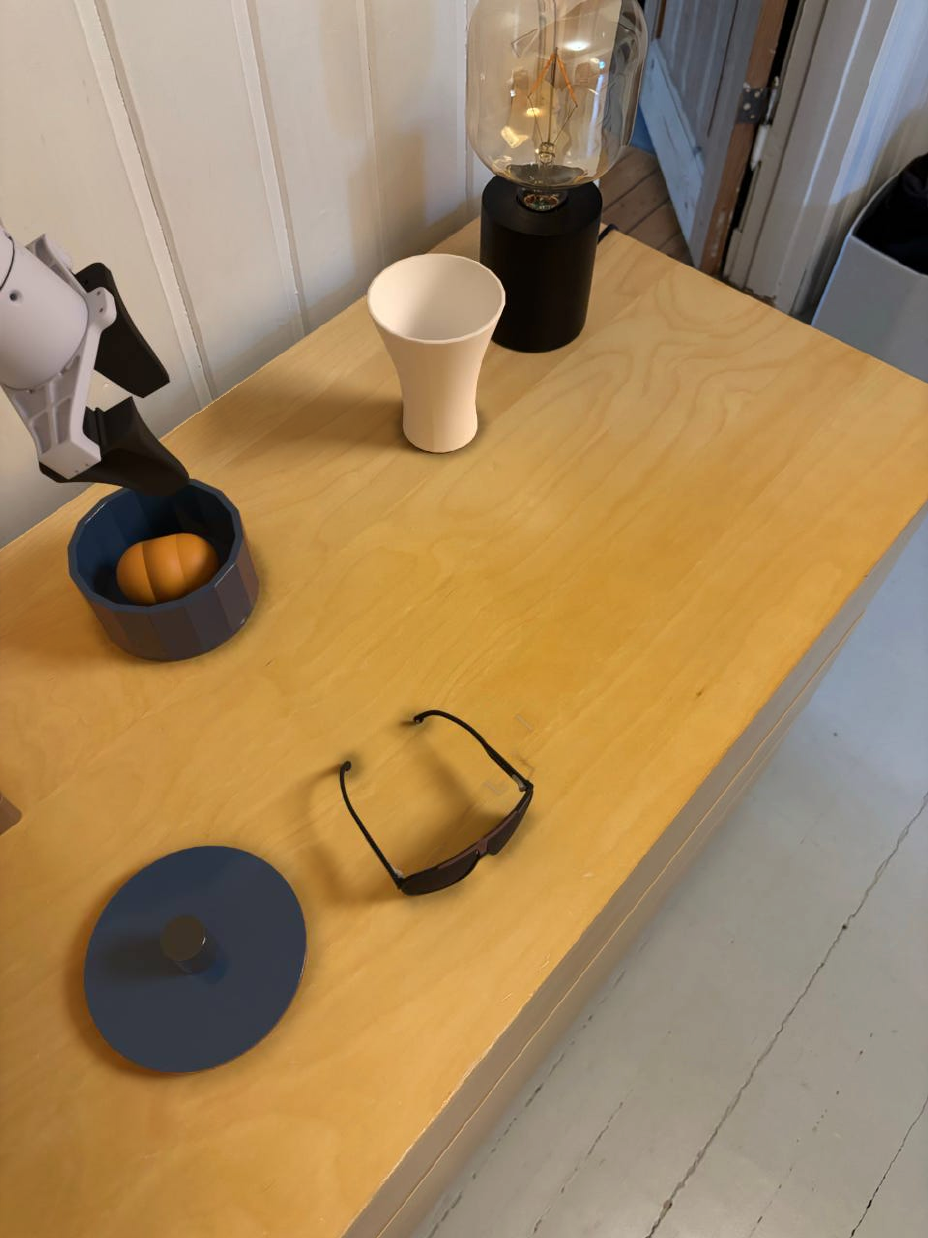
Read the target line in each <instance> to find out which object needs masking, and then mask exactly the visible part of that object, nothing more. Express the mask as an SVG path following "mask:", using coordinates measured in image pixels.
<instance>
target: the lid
mask: <svg viewBox="0 0 928 1238" xmlns="http://www.w3.org/2000/svg"><path fill="white" fill-rule="evenodd" d="M304 915H305V914H304V912H303V908H302V906H301V904H300V901H299V899H298V897H297V894H296V892H294V890H293V888H292V886H291V885H290V883H289V881H287V880H286V878H285V877H284V876H283V874H282V873H281V872H279V870H277V869H276V868H275V867H274V866H273V865H272V864H271V863H269V862H267V861H266V860H264V859H263V858H262V857H260V856H258V855H256V854H253V853H252V852H249V851H245V850H243V849H241V848H236V847H231V846H225V845H201V846H193V847H189V848H184V849H180V850H177V851H174V852H171V853H169V854H167V855H165V856H161V857H160V858H158V859H156V860H154V861H153V862H150V863H149V864H148V865H146V866H144V867H142V868H141V869H140V870H139V871H138V872H136V873H135V874H134V875H133V876H131V877H130V878H129V879H128V880H127V881H126V882H125V883H124V884H123V885H122V886H121V887H120V888H119V889H117V891H116V893H115V894H114V895H113V896H112V897H111V898H110V900H109V901H108V903H107V904H106V906H105V907H104V909H103V910H102V911H101V913H100V915H99V917H98V919H97V921H96V923H95V925H94V928H93V930H92V933H91V935H90V938H89V941H88V945H87V948H86V953H85V959H84V966H83V987H84V995H85V996H84V997H85V1001H86V1004H87V1009H88V1012H89V1015H90V1016H91V1019H92V1021H93V1023H94V1025H95V1027H96V1029H97V1030H98V1032H99V1033H100V1035H101V1036H102V1038H103V1039H104V1040H105V1041H106V1042H107V1044H108V1045H109V1046H110V1047H111V1048H112V1049H113V1050H114V1051H115V1052H117V1053H118V1054H119V1055H121V1056H122V1057H123V1058H125V1059H126V1060H128V1061H129V1062H132V1063H133V1064H135V1065H137V1066H139V1067H141V1068H144V1069H147V1070H150V1071H153V1072H158V1073H163V1074H169V1075H170V1074H174V1075H188V1074H197V1073H198V1074H199V1073H202V1072H206V1071H211V1070H215V1069H217V1068H219V1067H222V1066H225V1065H227V1064H230V1063H232V1062H233V1061H235V1060H237V1059H239V1058H240V1057H242V1056H244V1055H246V1054H248V1052H250V1051H251V1050H252V1049H254V1048H256V1047H257V1046H258V1045H259V1044H260V1043H261V1042H262V1041H264V1040H265V1038H266V1037H268V1036H269V1035H270V1034H271V1033H272V1031H273V1030H274V1029H275V1028H276V1027H277V1026H278V1025H279V1023H280V1022H281V1021H282V1020H283V1018H284V1017H285V1015H286V1014H287V1012H288V1011H289V1009H290V1008H291V1005H292V1003H293V1001H294V1000H295V998H296V996H297V993H298V991H299V989H300V986H301V983H302V980H303V976H304V973H305V969H306V964H307V955H308V931H307V923H306V920H305V919H306V918H305V916H304Z"/></svg>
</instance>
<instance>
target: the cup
mask: <svg viewBox="0 0 928 1238" xmlns="http://www.w3.org/2000/svg"><path fill="white" fill-rule="evenodd" d="M365 304H366V307H367V310H368V314H369V316H370V318H371V320H372V322H373V324H374V326H375V327H376V329H377V332H378V334H379V335H380V338H381V340H382V342H383V344H384V346H385V348H386V350H387V352H388V354H389V356H390V358H391V360H392V363H393V365H394V368H395V370H396V374H397V377H398V380H399V384H400V390H401V396H402V403H403V416H402V417H403V418H402V430H403V434H404V436H405V437H406V439H407V440H408V441H409V442H410V443H411V444H412V445H414V447H416V448H419V449H421V450H423V451H425V452H426V451H427V452H431V453H447V452H453V451H456V450H458V449H461V448H463V447H465V446H466V445H468V444H469V443H470V442H471V441H472V440H473V439H474V437H475V436H476V433H477V430H478V416H477V408H476V407H477V406H476V397H477V396H476V395H477V386H478V385H477V383H478V381H479V380H478V379H479V376H480V371H481V367H482V362H483V360H484V357H485V354H486V352H487V349H488V346H489V344H490V341H491V339H492V336H493V334H494V331H495V329H496V327H497V324H498V322H499V321H500V317H501V315H502V312H503V310H504V307H505V305H506V291H505V289H504V287H503V284H502V282H501V280H500V278H498V277H497V275H496V274H495V273H494V272H493V270H491V269H490V268H488V267H486V266H485V265H483V264H482V263H480V262H479V261H475V260H473V259H471V258H468V257H466V256H461V255H457V254H449V253H425V254H418V255H413V256H410V257H409V256H408V257H407V258H403V259H401V260H397V261H396V262H394V263H392V264H390V265H389V266H387V267H386V268H383V270H381V272H379V273H378V274H377V275H376V276H375V277H374V278H373V280H372V281H371V284H370V285H369V287H368V288H367V292H366V299H365Z"/></svg>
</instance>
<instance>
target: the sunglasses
mask: <svg viewBox="0 0 928 1238" xmlns="http://www.w3.org/2000/svg"><path fill="white" fill-rule="evenodd" d="M431 716H436V717H437V716H438V717H442V718H443V719H447V720H449V721H451V722H453V723H455V724H456V725H458V726H460V727H461V728H463V729H464V730H465V731H467V732H468V733H469V734H471V736H473V737H474V739H475V740H477V741H478V742H479V743H480V745H481V746H482V747H483V749H484V751H485V752H486V754H487V755H488V757H489V758H490V759H491V760H492V761H493V762H494V763H495V764H496V765H497V766H498V767H499V768H500V769H502V771H503V772H504V773H506V774H507V775H508V776H509V777H510V778H511V779H512V781H514V782H515V783H516V784H517V786H518V791H519V792H520V793H524V794H523V795H522V797H521V799H520V800H519V801H518V802H517V804H516V805H515V807H514V808H513V809H512V810H511V811H510V812H509V813H508V814H507V815H506V816H505V817H504V818H503V820H502V821H500V822H499V823H498V824H497V825H496V826H495V827H494V828H492V829H491V830H489V831H488V832H487V833H486V834H484V835H482V836H481V837H480V838H478V839H477V840H475V842H473V843H472V844H470V845H469V846H467V848H465V849H463V850H462V851H460V852H458V853H457V854H456V855H454V856H451V857H449V858H448V859H445V860H443V861H442V862H439V863H438V864H436V865H434V866H432V867H428V868H426V869H423V870H421V871H417V872H415V873H411V874H409V875H407V876H406V877H405V878H404V874H403V872H402V870H399V869H396V868H395V867H393V865H392V864H391V862H389V861H388V859H387V858H386V857H385V855H384V853H383V852H382V851H381V849H380V847H379V846H378V845H377V842H376V841H375V840H374V838H373V837H372V836H371V833H370V832H369V831H368V829H367V828H366V826H365V825H364V823H363V822H362V820H361V819H360V817H359V815H358V814H357V812H356V810H355V809H354V807H353V806H352V804H351V801H350V799H349V796H348V793H347V789H346V782H345V773H346V772H349V771H350V770H351V769H352V763H351V761H350V760H346V761H345V762H344V763H343V764H342V765H341V766H340V769H339V785H340V789H341V794H342V798H343V801H344V803H345V806H346V808H347V810H348V812H349V814H350V815H351V817H352V819H353V820H354V822H355V823H356V825H357V827H358V828H359V830H360V832H361V833H362V835H363V836H364V839H365V840H366V842H367V844H368V845H369V846H370V848H371V849H372V851H373V852H374V854H375V856H376V857H377V859H378V860H379V862H380V863H381V865H382V866H383V867H384V869H385V871H386V873H387V874H388V875H389V877H390V878H391V880H392V882H393V883H394V885H395V886H396V888H397V890H398V891H401V893H403V895H405V896H411V897H412V896H414V897H415V896H422V895H428V894H432V893H436V892H439V891H443V890H444V889H447V888H450V887H452V886H453V885H456V884H458V883H460V882H461V881H462V880H464V879H466V878H467V877H468V876H469V875H470V874H471V873H472V872H473V871H474V870H475V868H476V867H477V865H478V863H479V862H480V861H481V860H482V859H483V858H484V857H486V856H487V855H490V856H493V857H494V856H496V855H498V854H499V853H500V852H501V851H502V850H503V849H504V847H505V846H506V844H508V842H509V841H510V839H511V838H512V837H513V835H514V834H515V832H516V831H517V829H518V827H519V826H520V824H521V822H522V820H523V818H524V817H525V814H526V812H527V810H528V809H529V806H530V804H531V802H532V799H533V796H534V788H535V785H534V783H532V782H531V781H530V780H529V779H526V778H525V777H524V776H523V775H522V774H521V773H520V772H519V771H518V770H516V769H515V767H513V765H512V764H510V763H509V762H508V761H507V760H506V759H505V757H503V756H502V755H501V754H500V753H498V751H497V750H495V748H494V747H492V746H491V745H490V744H489V743H488V742H487V740H486V739H485V738H484V737H483V736H482V735H481V734H480V733H479V732H478V731H477V730H476V729H474V728H473V727H472V726H470V725H469V724H468V723H467V722H465V721H463V720H462V719H460V718H459V717H457V716H455V715H453V714H451V713H448V712H446V711H444V710H440V709H428V710H425V711H423V712H421V713H418V714H416V715H414V716H413V718H412V720H413V723H414V724H417V725H418V724H421V723H423V722H424V720H425V719H426V718H428V717H431Z"/></svg>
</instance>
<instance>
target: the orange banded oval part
mask: <svg viewBox="0 0 928 1238" xmlns="http://www.w3.org/2000/svg"><path fill="white" fill-rule="evenodd" d="M219 570H220V563H219V559H218V555H217V553H216V551H215V550H214V548H213V547H212V546H211V545H210V543H209V542H207V541H206V540H205V539H203V538H201V537H199V536H197V535H193V534H187V533H181V534H174V535H170V536H165V537H161V538H156V539H151V540H147V541H143V542H140V543H137V544H135V545H133V546H131V547H130V548H129V549H128V550H126V551H125V553H124V554H123V555H122V556H121V558H120V560H119V563H118V566H117V582H118V585H119V587H120V589H121V591H122V593H123V594H124V595H125V596H126V597H127V598H128V599H129V600H130V601H132V602H133V603H135V604H137V605H139V606H144V607H150V606H154V605H158V604H163V603H167V602H171V601H176V600H180V599H182V598H184V597H186V596H187V595H189V594H191V593H192V592H194V591H196V590H197V589H199V588H201V587H203V586H204V585H206V584H208V583H209V582H210V581H211V580H212V579H213V577H214V576H215V575H216V574H217V573H218V572H219Z"/></svg>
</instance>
